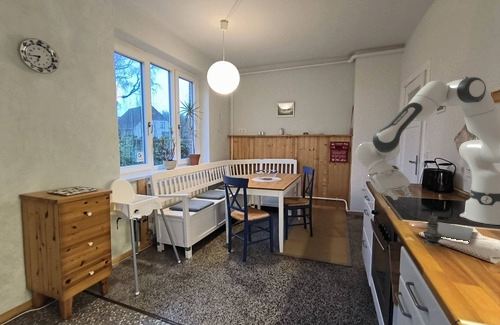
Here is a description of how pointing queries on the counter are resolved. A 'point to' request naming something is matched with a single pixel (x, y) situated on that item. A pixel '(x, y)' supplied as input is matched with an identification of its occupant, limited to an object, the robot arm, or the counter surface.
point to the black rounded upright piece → (432, 231)
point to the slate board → (454, 231)
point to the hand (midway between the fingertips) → (403, 197)
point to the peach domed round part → (418, 224)
